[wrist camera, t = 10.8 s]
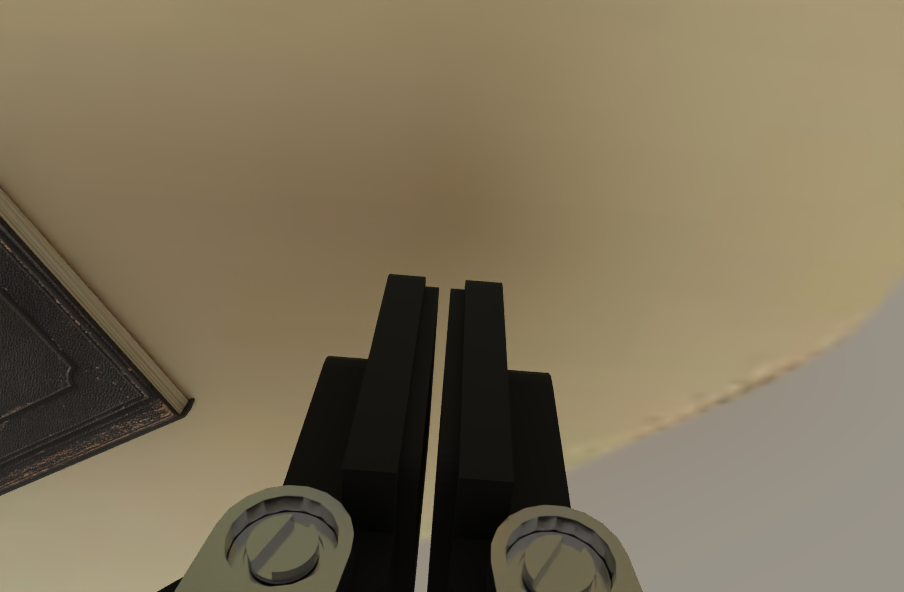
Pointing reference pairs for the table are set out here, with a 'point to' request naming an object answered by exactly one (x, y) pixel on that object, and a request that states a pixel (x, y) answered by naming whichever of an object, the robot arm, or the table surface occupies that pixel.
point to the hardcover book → (65, 364)
